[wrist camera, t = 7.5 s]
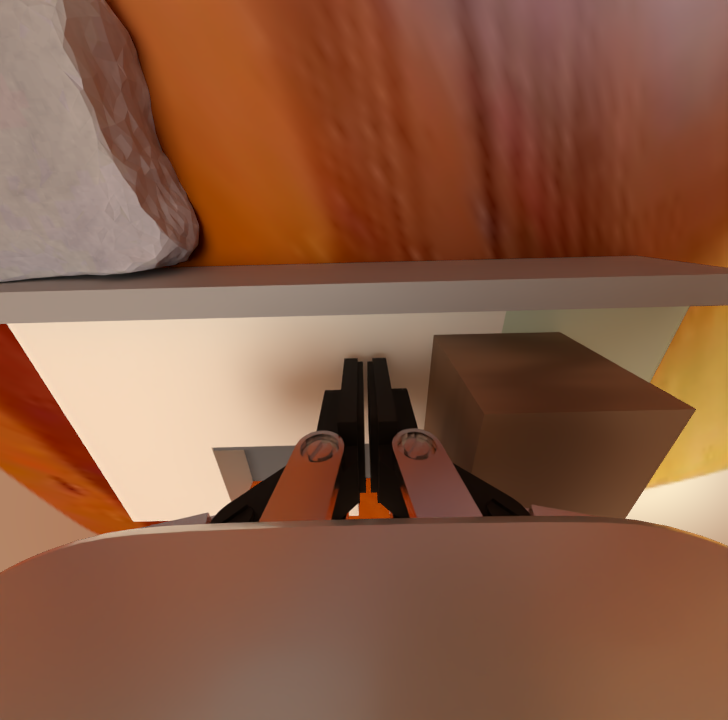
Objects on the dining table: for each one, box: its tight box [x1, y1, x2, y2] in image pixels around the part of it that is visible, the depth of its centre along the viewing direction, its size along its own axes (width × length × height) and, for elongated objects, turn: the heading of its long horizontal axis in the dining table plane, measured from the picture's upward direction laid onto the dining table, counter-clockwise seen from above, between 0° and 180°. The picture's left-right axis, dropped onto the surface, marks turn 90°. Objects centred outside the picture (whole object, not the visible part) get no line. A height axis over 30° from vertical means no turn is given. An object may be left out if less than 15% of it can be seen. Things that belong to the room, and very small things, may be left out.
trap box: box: [0, 256, 728, 522], centre depth 14 cm, size 26×14×4 cm, turn 91°
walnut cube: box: [424, 332, 696, 519], centre depth 10 cm, size 5×5×5 cm
